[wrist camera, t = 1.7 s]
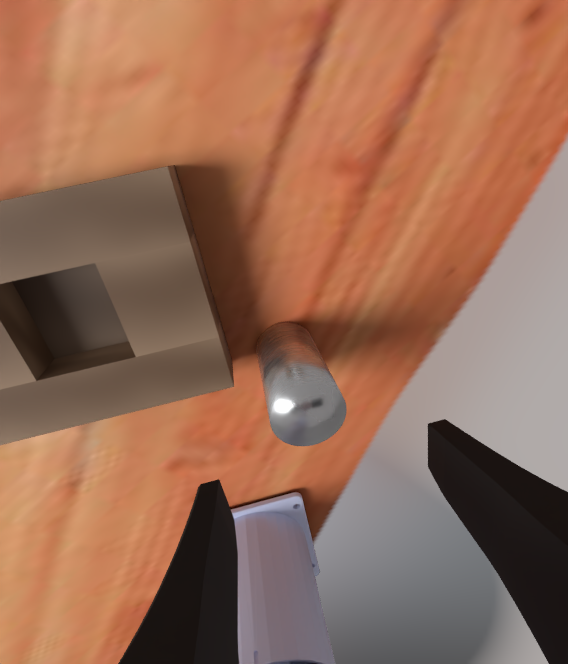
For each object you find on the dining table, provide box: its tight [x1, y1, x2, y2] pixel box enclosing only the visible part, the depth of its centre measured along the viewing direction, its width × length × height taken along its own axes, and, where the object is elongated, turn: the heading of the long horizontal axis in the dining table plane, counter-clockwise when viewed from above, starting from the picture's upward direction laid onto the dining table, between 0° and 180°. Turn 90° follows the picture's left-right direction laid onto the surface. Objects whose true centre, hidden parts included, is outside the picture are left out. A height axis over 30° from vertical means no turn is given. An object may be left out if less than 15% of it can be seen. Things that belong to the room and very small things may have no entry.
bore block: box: [0, 165, 234, 445], centre depth 16 cm, size 10×12×2 cm
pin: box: [256, 322, 346, 446], centre depth 18 cm, size 3×3×6 cm
